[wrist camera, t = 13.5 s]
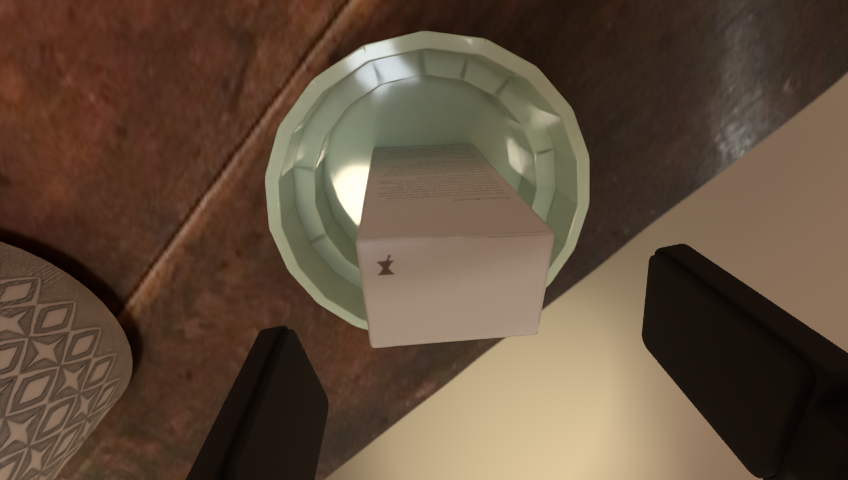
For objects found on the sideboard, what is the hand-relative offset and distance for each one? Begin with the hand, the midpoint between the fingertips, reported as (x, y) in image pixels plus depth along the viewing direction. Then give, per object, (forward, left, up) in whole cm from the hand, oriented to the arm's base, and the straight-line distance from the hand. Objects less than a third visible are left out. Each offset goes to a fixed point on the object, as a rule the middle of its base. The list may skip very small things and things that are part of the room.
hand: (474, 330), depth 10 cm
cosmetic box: (0, 0, -14) cm, 14 cm away
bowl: (0, 0, -15) cm, 15 cm away
